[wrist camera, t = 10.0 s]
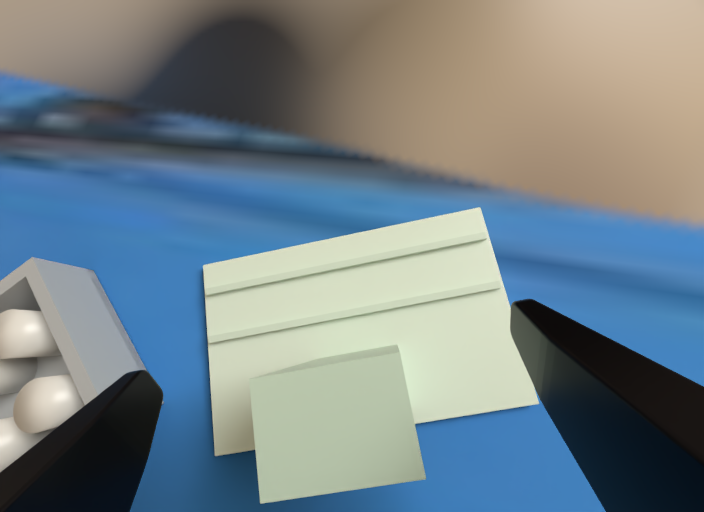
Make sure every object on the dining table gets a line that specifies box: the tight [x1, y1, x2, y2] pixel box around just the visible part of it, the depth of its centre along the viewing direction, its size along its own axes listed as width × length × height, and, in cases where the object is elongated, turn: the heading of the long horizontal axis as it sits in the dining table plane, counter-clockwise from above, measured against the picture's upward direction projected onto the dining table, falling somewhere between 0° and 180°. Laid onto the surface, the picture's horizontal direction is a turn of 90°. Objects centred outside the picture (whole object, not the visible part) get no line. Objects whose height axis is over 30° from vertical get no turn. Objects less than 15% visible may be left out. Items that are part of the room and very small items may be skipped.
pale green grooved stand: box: [203, 207, 539, 504], centre depth 11 cm, size 8×13×8 cm, turn 100°
